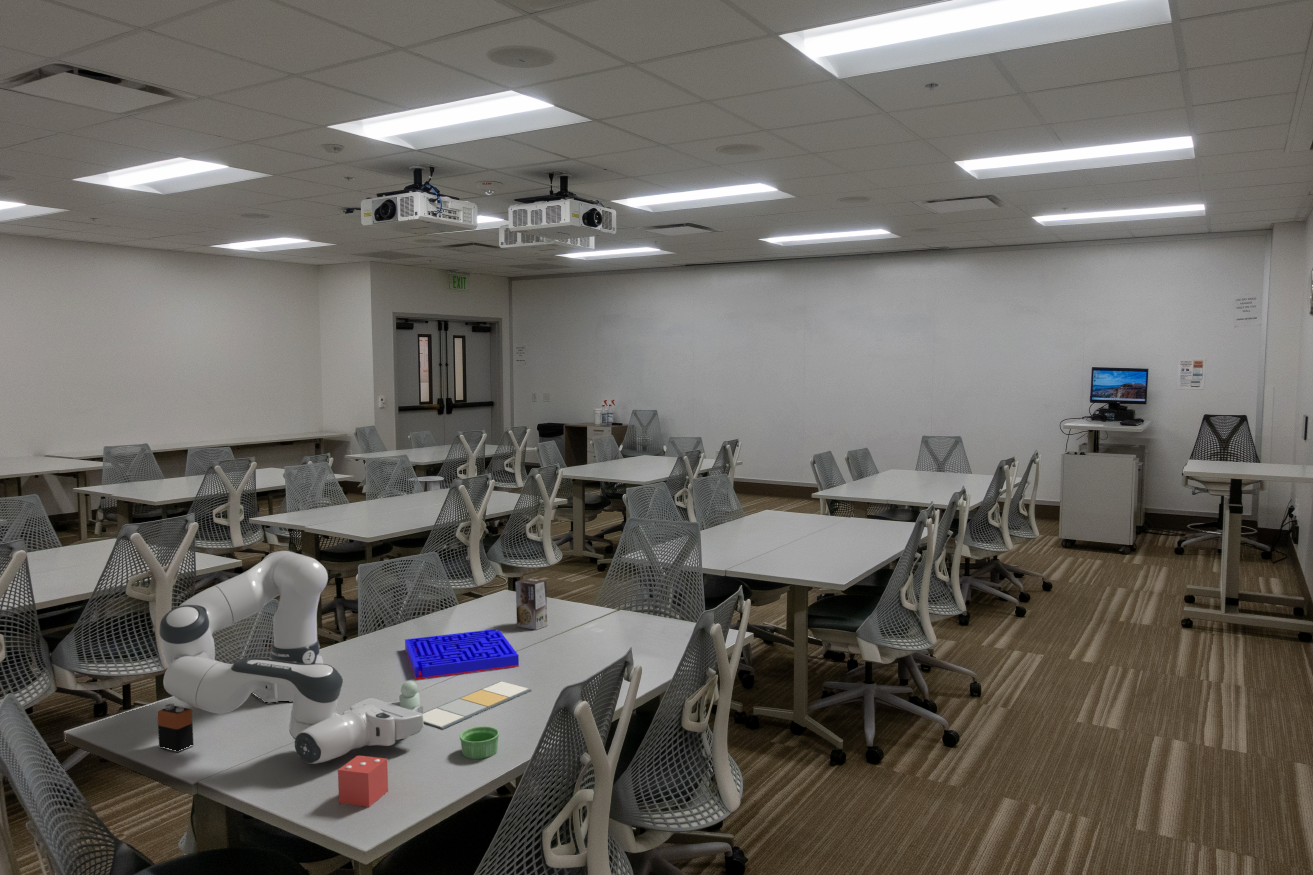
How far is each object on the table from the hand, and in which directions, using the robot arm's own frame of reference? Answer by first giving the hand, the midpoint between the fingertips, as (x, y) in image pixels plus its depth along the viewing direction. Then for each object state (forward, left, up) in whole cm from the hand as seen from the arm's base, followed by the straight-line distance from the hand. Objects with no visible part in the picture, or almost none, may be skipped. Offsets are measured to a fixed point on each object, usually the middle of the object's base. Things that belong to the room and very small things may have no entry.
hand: (412, 705), depth 216 cm
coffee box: (-37, +83, -6) cm, 91 cm away
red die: (+19, -29, -6) cm, 35 cm away
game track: (0, +20, -6) cm, 21 cm away
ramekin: (+23, 0, -6) cm, 24 cm away
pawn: (0, -1, -6) cm, 6 cm away
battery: (-39, -38, -6) cm, 55 cm away
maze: (-32, +45, -7) cm, 56 cm away
